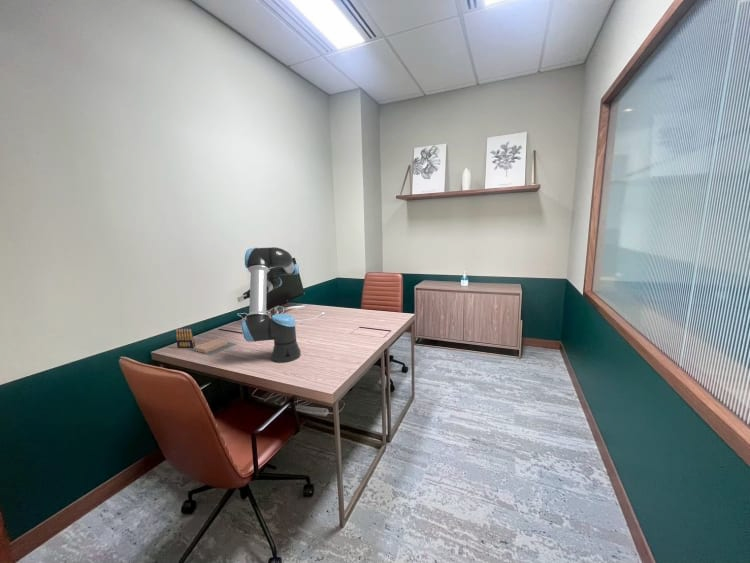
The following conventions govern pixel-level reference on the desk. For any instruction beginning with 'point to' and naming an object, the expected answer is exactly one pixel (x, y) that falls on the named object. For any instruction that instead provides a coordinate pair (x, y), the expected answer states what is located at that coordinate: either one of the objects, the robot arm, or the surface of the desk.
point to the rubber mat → (216, 349)
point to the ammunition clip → (184, 339)
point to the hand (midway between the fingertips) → (238, 299)
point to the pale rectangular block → (210, 345)
